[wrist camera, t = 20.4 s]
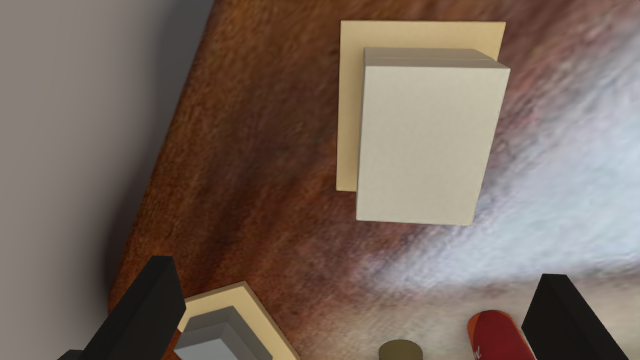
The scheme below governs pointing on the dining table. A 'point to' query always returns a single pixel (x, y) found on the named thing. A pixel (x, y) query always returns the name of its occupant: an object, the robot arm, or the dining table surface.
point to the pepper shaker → (400, 351)
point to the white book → (426, 138)
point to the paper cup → (497, 337)
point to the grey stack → (230, 328)
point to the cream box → (398, 43)
